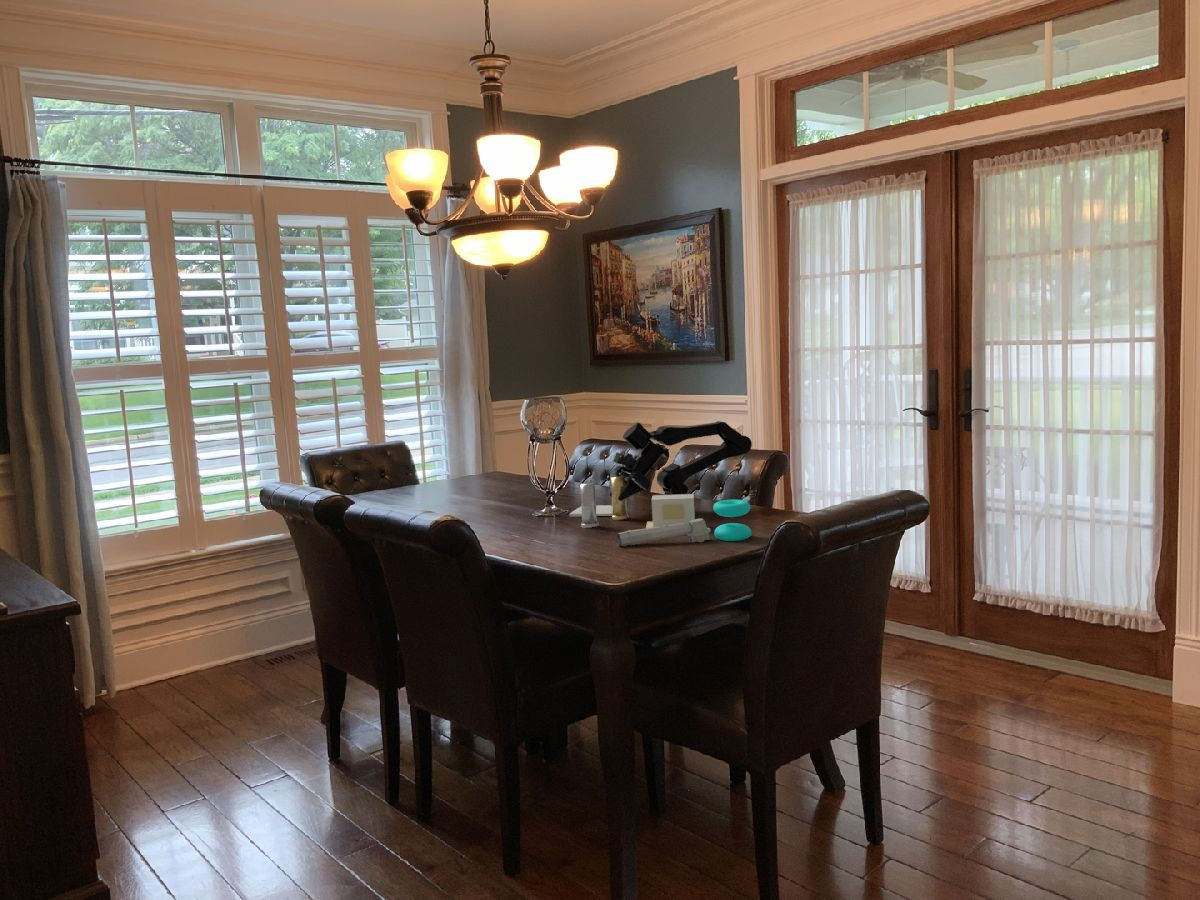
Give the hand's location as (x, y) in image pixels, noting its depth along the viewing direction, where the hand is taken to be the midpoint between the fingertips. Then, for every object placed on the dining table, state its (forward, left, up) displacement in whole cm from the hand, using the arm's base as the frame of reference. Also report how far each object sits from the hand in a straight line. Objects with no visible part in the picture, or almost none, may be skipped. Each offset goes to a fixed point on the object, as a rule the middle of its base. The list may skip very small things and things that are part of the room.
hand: (614, 498), depth 295 cm
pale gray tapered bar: (-35, +17, -7) cm, 40 cm away
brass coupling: (-1, -1, -7) cm, 7 cm away
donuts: (-47, +2, -7) cm, 48 cm away
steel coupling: (-1, +12, -7) cm, 14 cm away
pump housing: (-25, +1, -7) cm, 25 cm away
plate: (+13, -5, -7) cm, 16 cm away
